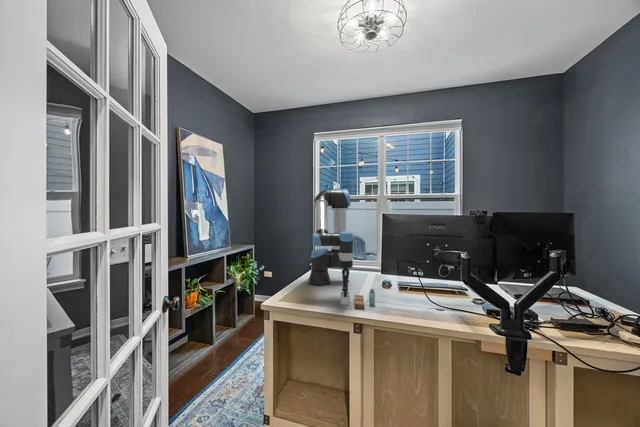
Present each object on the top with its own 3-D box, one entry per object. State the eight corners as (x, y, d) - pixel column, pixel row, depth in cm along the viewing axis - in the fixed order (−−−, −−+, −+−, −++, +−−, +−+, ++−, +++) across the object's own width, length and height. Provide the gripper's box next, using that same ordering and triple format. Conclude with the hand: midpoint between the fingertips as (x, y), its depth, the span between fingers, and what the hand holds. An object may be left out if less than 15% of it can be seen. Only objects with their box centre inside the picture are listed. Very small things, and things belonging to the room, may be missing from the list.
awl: (369, 303, 147) (369, 288, 147) (374, 304, 147) (374, 288, 146) (369, 305, 144) (369, 290, 144) (375, 306, 144) (375, 290, 143)
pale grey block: (340, 301, 151) (341, 290, 151) (349, 301, 150) (349, 291, 150) (340, 304, 146) (340, 293, 146) (349, 305, 145) (349, 294, 145)
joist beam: (354, 299, 153) (354, 295, 153) (363, 299, 153) (363, 295, 153) (354, 309, 140) (354, 304, 139) (364, 309, 139) (364, 304, 139)
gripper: (339, 255, 160) (339, 290, 161) (337, 264, 135) (337, 306, 136) (352, 255, 159) (352, 290, 160) (352, 265, 134) (352, 307, 135)
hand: (345, 298), depth 148 cm, fingers open, 13 cm apart
